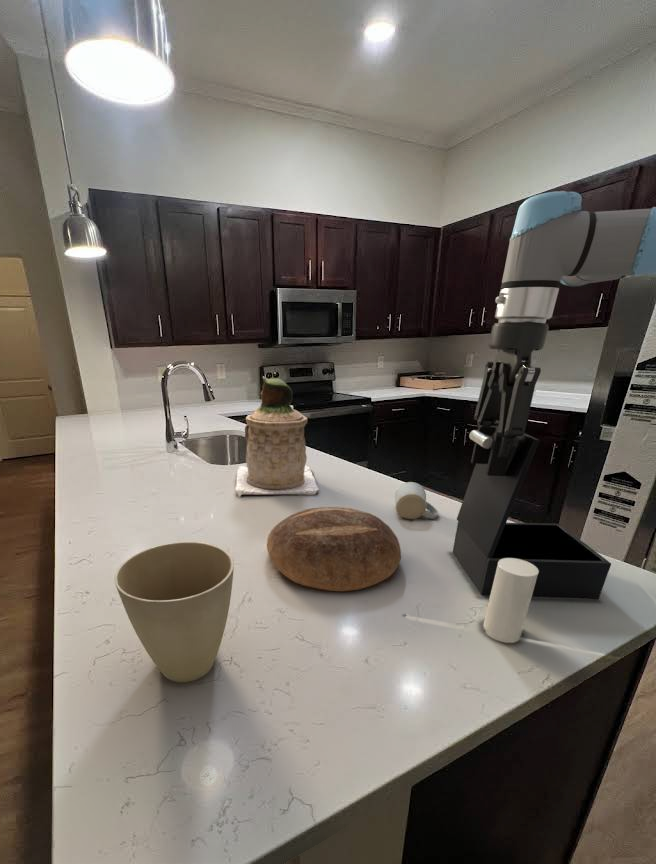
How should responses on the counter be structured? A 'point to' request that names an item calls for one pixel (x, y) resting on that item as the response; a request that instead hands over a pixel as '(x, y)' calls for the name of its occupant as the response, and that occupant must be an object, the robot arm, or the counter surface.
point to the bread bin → (537, 560)
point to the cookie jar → (275, 447)
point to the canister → (510, 599)
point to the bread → (334, 548)
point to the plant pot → (178, 604)
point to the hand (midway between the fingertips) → (486, 468)
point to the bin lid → (494, 492)
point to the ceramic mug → (413, 502)
